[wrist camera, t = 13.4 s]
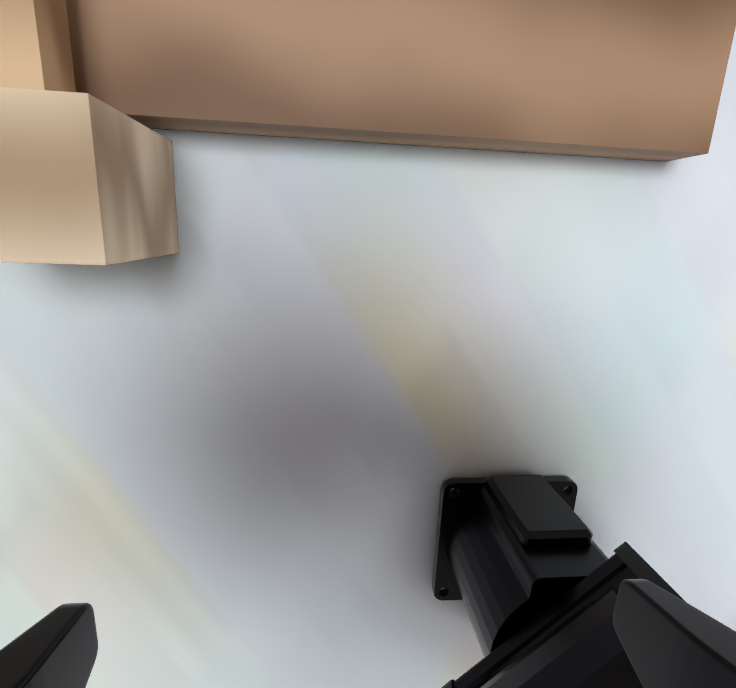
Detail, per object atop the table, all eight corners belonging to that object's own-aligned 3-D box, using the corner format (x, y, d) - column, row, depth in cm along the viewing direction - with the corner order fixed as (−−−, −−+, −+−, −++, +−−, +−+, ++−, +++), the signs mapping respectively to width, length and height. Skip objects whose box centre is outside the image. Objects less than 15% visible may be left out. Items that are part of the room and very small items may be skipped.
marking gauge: (179, 252, 17) (105, 265, 11) (40, 248, 17) (-109, 258, 11) (157, -91, 14) (46, -303, 9) (-9, -110, 14) (-244, -348, 8)
